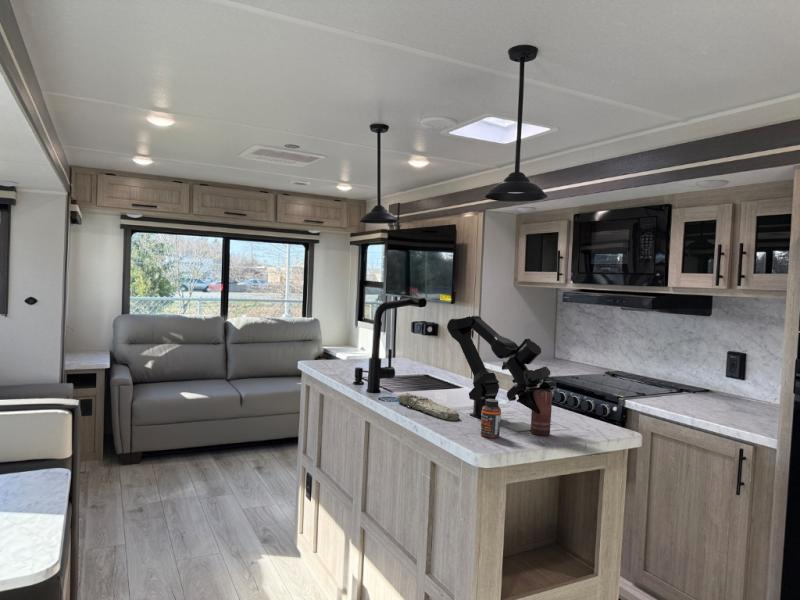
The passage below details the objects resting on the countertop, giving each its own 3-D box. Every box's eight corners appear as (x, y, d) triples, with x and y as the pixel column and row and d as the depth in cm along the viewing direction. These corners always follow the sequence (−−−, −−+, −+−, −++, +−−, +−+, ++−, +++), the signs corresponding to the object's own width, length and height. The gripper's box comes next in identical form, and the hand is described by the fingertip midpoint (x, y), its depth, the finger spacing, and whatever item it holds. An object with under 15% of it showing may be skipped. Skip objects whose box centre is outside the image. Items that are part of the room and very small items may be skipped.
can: (536, 436, 180) (539, 392, 179) (526, 431, 186) (529, 388, 185) (553, 436, 181) (556, 392, 181) (543, 430, 187) (546, 388, 187)
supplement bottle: (476, 436, 177) (478, 399, 177) (485, 432, 182) (487, 397, 182) (494, 439, 174) (496, 402, 174) (502, 436, 179) (504, 400, 179)
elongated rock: (443, 426, 194) (465, 425, 199) (445, 411, 193) (467, 410, 199) (389, 400, 223) (410, 400, 228) (391, 387, 223) (412, 387, 228)
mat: (499, 424, 193) (499, 423, 193) (522, 422, 198) (523, 421, 198) (517, 432, 184) (517, 431, 184) (542, 430, 189) (542, 428, 189)
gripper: (515, 359, 180) (541, 400, 172) (553, 357, 192) (579, 396, 183) (495, 380, 187) (519, 421, 178) (533, 376, 198) (557, 415, 190)
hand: (545, 412), depth 182 cm, fingers closed on can, 5 cm apart
